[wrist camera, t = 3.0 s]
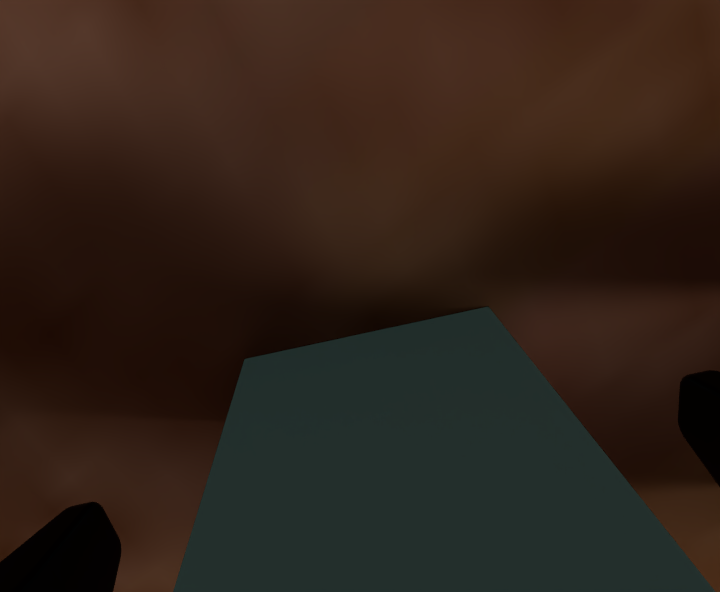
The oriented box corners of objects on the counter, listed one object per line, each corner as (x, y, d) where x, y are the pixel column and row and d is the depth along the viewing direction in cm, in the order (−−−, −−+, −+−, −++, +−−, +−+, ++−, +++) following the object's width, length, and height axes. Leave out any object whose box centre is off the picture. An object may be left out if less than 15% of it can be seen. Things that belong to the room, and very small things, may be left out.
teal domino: (496, 374, 10) (927, 1062, 3) (266, 422, 10) (125, 1215, 3) (488, 306, 10) (1008, 959, 2) (244, 359, 10) (1, 1154, 2)
